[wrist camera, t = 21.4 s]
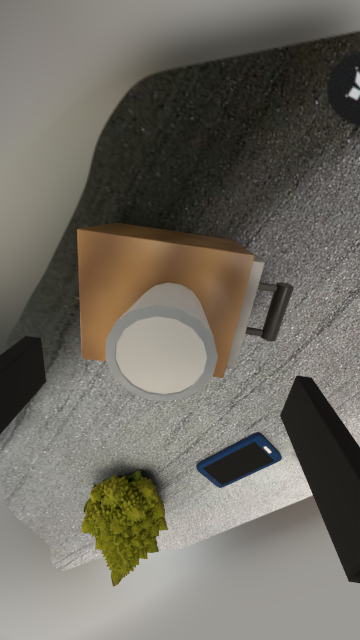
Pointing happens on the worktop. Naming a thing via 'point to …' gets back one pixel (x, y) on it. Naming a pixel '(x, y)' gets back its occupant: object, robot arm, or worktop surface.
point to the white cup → (162, 345)
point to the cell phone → (239, 461)
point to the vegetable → (124, 521)
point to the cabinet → (158, 279)
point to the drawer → (273, 317)
